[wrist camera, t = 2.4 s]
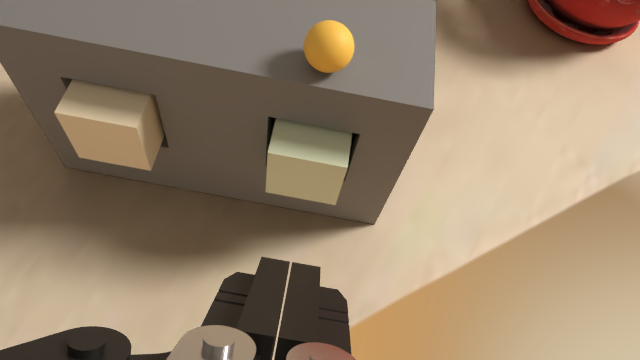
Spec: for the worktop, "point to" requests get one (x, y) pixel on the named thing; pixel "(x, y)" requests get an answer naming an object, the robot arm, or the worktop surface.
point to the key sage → (307, 161)
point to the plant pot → (589, 18)
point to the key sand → (111, 124)
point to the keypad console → (238, 83)
